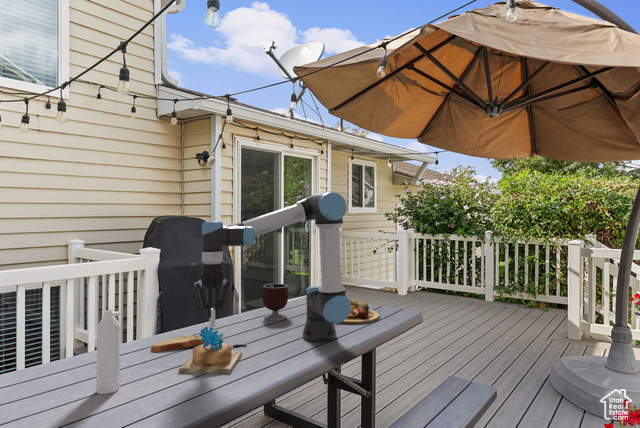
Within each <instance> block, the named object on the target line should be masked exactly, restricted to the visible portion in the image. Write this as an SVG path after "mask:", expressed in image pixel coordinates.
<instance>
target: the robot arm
mask: <svg viewBox="0 0 640 428" xmlns="http://www.w3.org/2000/svg"><path fill="white" fill-rule="evenodd" d="M347 207H348V205H347V202H346V200H345V198H344V197H343V195H342V194H340V193H338V192H335V191H326V192H318V193H314V194H313V195H309V196H308V197H305V198H303V199H301V200H298V201H296V202H295V203H294V204H293V205H291V206H287V207H283V208H281V209H278V210H275V211H272V212H269V213H266V214H262V215H260V216H256V217H253V218H250V219H248V220H245V221H242V222H238V223H236V224H233V225H232V224H229V225H227V226H225V225H224V223H223V221H219V220H218V221H212V220H210V221H204V222H203V223H202V225H201V226H202V227H201V229H202V230H201V263H202V264H201V276H200V278H199V280H198V281H195V282H194V284H193V285H194V287H195V288H196V289H197V294H198V297H199V300H200V305H201V308H203V309H205V310H206V317H207V318H208V319H209V322H208V323H209V324H208V325H209V328H210V327H211V328H216V318H218V316H219V309H220V308H221V307H223V306H224V303H225V299H226V298H225V297H226V295H227V291H228V286H229V285H230V284H231V281H230V280H228V279H226V278H225V276H224V271H223V270H224V269H223V268H224V263H222V262H223V260H224V258H223V257H224V251H223V250H224V249H223V248H224V247H249V246H253V245H254V244H255V243H256V242H255V241H256V237H258V236H260V235H263V234H266V233H270V232H272V231H275V230H279V229H282V228H284V227H288V226H290V225H292V224H296V223H299V222H302V223H306V222H308V221H314V223H315V224H314V225H315V226H316V227H317V228H318V232H319V235H318V238H319V256H320V257H319V258H320V278H321V285H313V286H309V287H307V288H306V293H305V296H306V321H305V325H304V326H303V327H304V328H303V330H302V339H303V340H306V341H307V342H314V343H325V342H330V341H331V342H332V341H334V340H335V339H336V338H337V330H336V327H335V324H338V323H340V322H342V321H344V320H345V319H346V318H347V317H348V316H349V314H350V311H351V304H350V299H348V297H347V290H346V287H345V286H344V285H343V281H342V279H343V278H342V261H341V259H342V258H341V257H342V256H341V235H340V234H341V232H340V231H341V230H340V228H341V227H342V225H343V224H344V217H345V215H346V213H347V211H348V208H347ZM202 284H203V285H204V286H205V289H206V296H204V292H203V289H202V287H203V285H202ZM220 286H221V290H220V289H219V287H220ZM212 289H213V295H212ZM219 290H220V291H221V292H220V293H219ZM219 294H220V295H219ZM205 297H206V300H205ZM212 297H213V302H212ZM212 303H213V304H212ZM212 305H213V307H212Z"/></svg>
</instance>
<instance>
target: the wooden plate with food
mask: <svg viewBox="0 0 640 428" xmlns="http://www.w3.org/2000/svg"><path fill="white" fill-rule="evenodd" d="M349 301H350V304H351V311H350V314H349V316H348V317H347V318H346V319H345V320H344V321H342V322H340V323H337V324H339V325H365V324H370V323H371V324H372V323H375V322H377V321H379V319H380V314H379V313H378V312H377V311H376V310H373V309H371V308H370V306H369V305H368V303H367V302H365V301H363V302H361V303H360V304H359V303H358V301H357V300H356V299H354V298H351V299H349Z"/></svg>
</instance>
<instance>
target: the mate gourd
mask: <svg viewBox="0 0 640 428" xmlns="http://www.w3.org/2000/svg"><path fill="white" fill-rule="evenodd" d="M261 295H262V303H263V305H264V307H265V308H266V309H268V310H270V311H272V313H268V314H264V315H263V319H265V320H266V321H283V320H286V319H287V314H285V313H280V312H279V311H280V310H283V309H284V308H285V307H286V306H287V305H288V299H289V288H288V285H287V284H286V283H285V284H284V283H270V282H268V283H267V284H264V285H263V288H262V292H261Z"/></svg>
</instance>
